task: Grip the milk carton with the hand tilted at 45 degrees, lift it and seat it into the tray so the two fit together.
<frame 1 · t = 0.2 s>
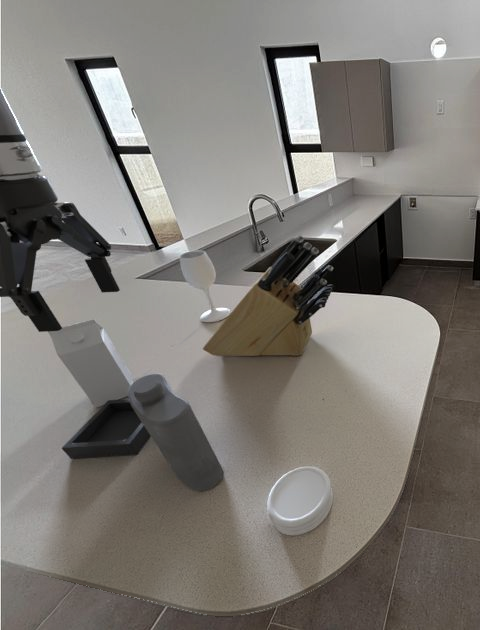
hand: (84, 308, 57), 27 cm above the worktop, tool pointing down, fingers open, 13 cm apart
coaster: (303, 505, 56), on the worktop
wineglass: (216, 316, 107), on the worktop
knife block: (278, 345, 94), on the worktop
tray: (125, 431, 68), on the worktop
flask: (194, 465, 62), on the worktop
milk carton: (116, 392, 78), on the worktop
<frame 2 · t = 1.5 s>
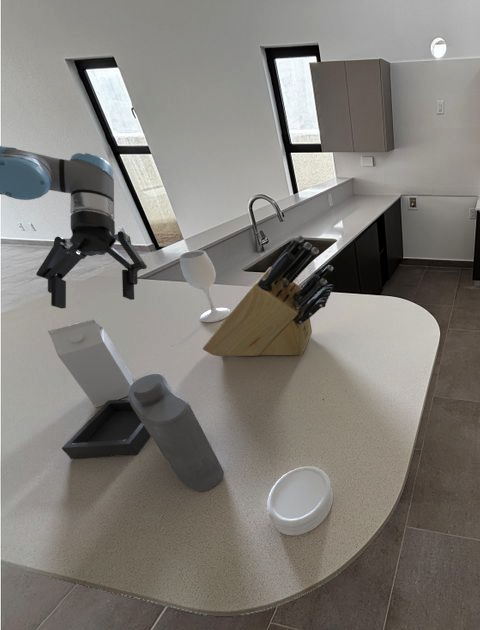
hand: (94, 302, 75), 19 cm above the worktop, tool tilted 45°, fingers open, 13 cm apart
nothing on the worktop moved.
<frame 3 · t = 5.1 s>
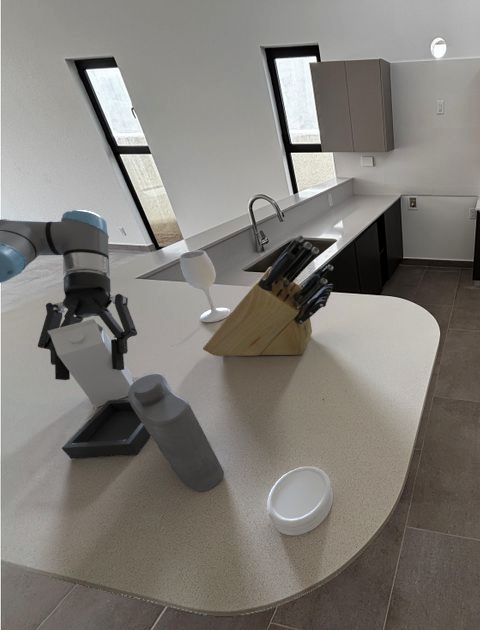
hand: (91, 374, 71), 8 cm above the worktop, tool tilted 45°, fingers closed on milk carton, 9 cm apart
milk carton: (116, 392, 78), on the worktop, touching gripper
everything else where it was.
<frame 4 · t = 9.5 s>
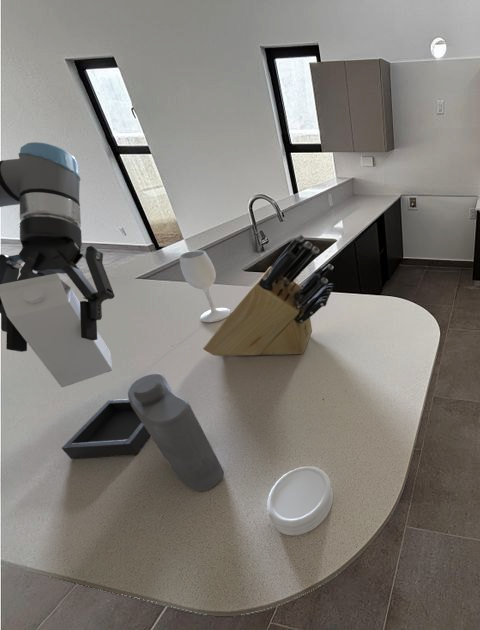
hand: (54, 344, 56), 23 cm above the worktop, tool tilted 45°, fingers closed on milk carton, 9 cm apart
milk carton: (89, 370, 63), point 14 cm above the worktop, touching gripper
everything else where it was.
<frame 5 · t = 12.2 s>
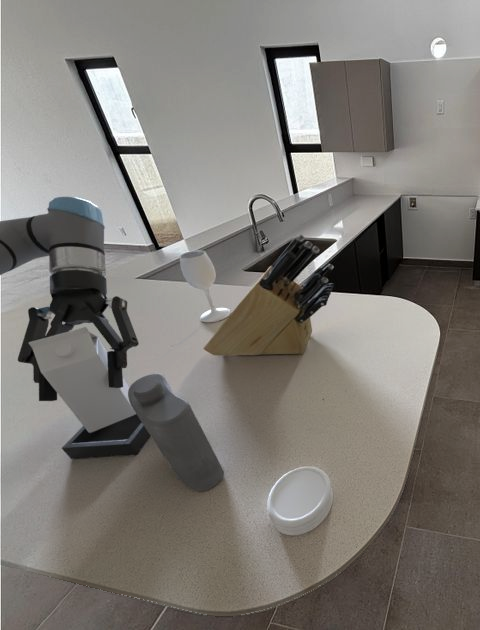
hand: (83, 393, 59), 14 cm above the worktop, tool tilted 45°, fingers closed on milk carton, 9 cm apart
milk carton: (113, 413, 66), point 5 cm above the worktop, touching gripper
everything else where it was.
when the fingers open (9 cm above the worktop, at t = 14.0 s): milk carton stays where it is, resting on tray.
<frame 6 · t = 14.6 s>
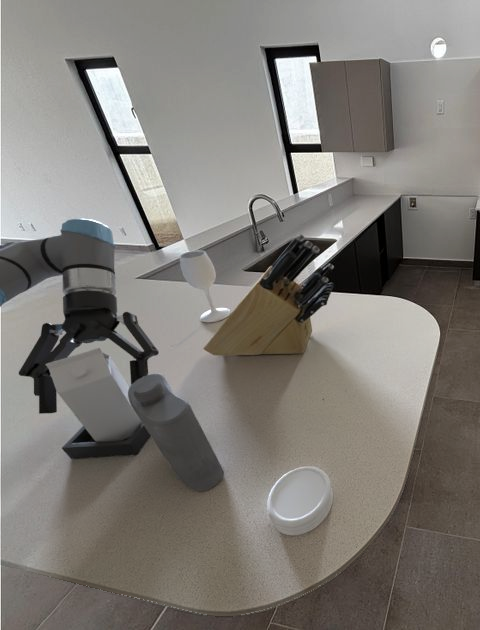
hand: (94, 403, 61), 10 cm above the worktop, tool tilted 45°, fingers open, 13 cm apart
milk carton: (124, 429, 68), point 1 cm above the worktop, touching tray
everything else where it was.
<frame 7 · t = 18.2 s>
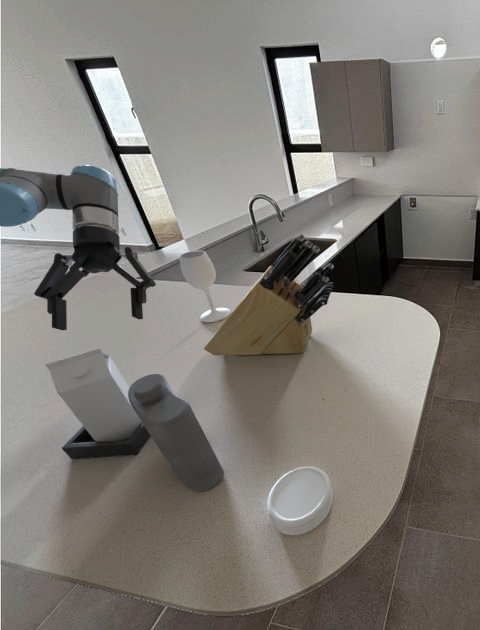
hand: (99, 323, 70), 18 cm above the worktop, tool tilted 45°, fingers open, 13 cm apart
nothing on the worktop moved.
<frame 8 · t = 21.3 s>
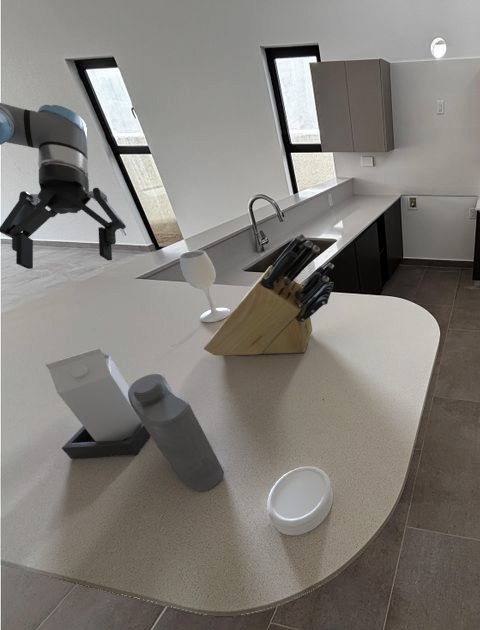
hand: (66, 262, 69), 30 cm above the worktop, tool tilted 45°, fingers open, 13 cm apart
nothing on the worktop moved.
at the end: milk carton 0.1 cm off-centre in the tray, point 0.6 cm above the tray's base; milk carton tilted 0°; the gripper is holding nothing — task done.
